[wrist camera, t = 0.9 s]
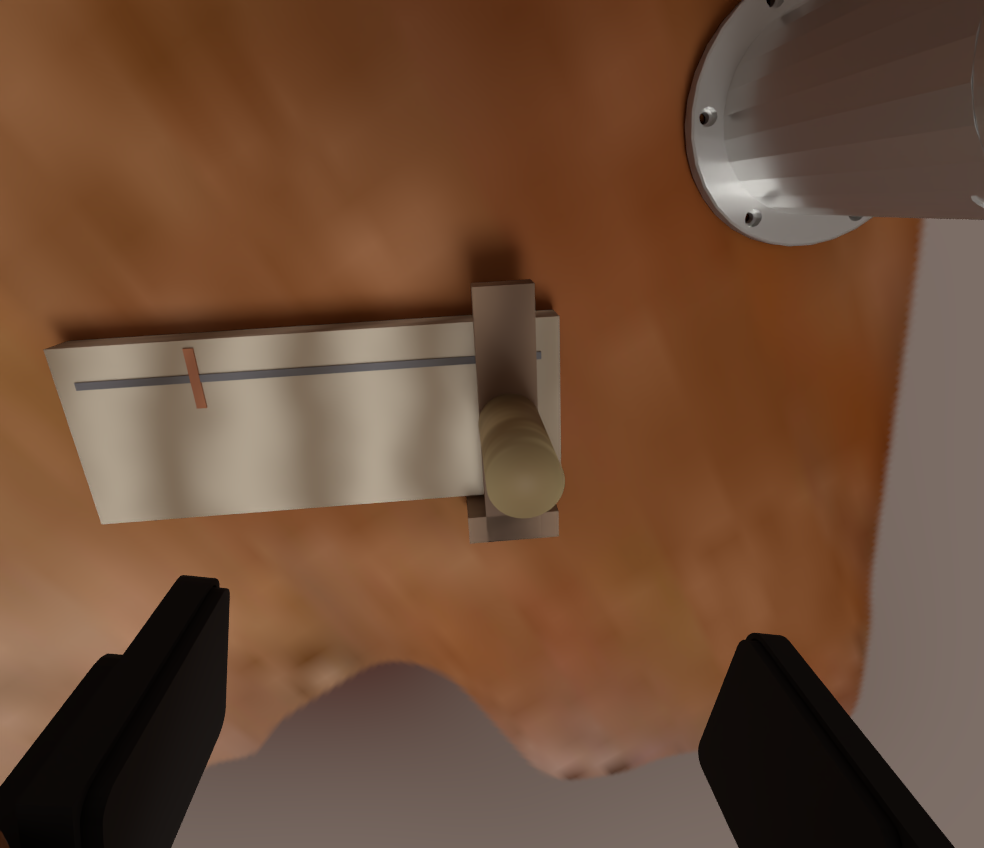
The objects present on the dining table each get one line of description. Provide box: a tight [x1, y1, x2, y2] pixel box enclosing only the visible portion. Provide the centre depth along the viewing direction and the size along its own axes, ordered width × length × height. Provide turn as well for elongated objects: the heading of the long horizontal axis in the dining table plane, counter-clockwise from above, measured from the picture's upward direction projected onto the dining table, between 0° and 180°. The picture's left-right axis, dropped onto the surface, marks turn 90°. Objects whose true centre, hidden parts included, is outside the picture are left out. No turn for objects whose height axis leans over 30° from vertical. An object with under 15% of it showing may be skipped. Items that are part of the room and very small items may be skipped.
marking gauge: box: [467, 279, 565, 543], centre depth 28 cm, size 5×14×10 cm, turn 3°
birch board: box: [44, 310, 561, 524], centre depth 32 cm, size 26×10×2 cm, turn 93°
